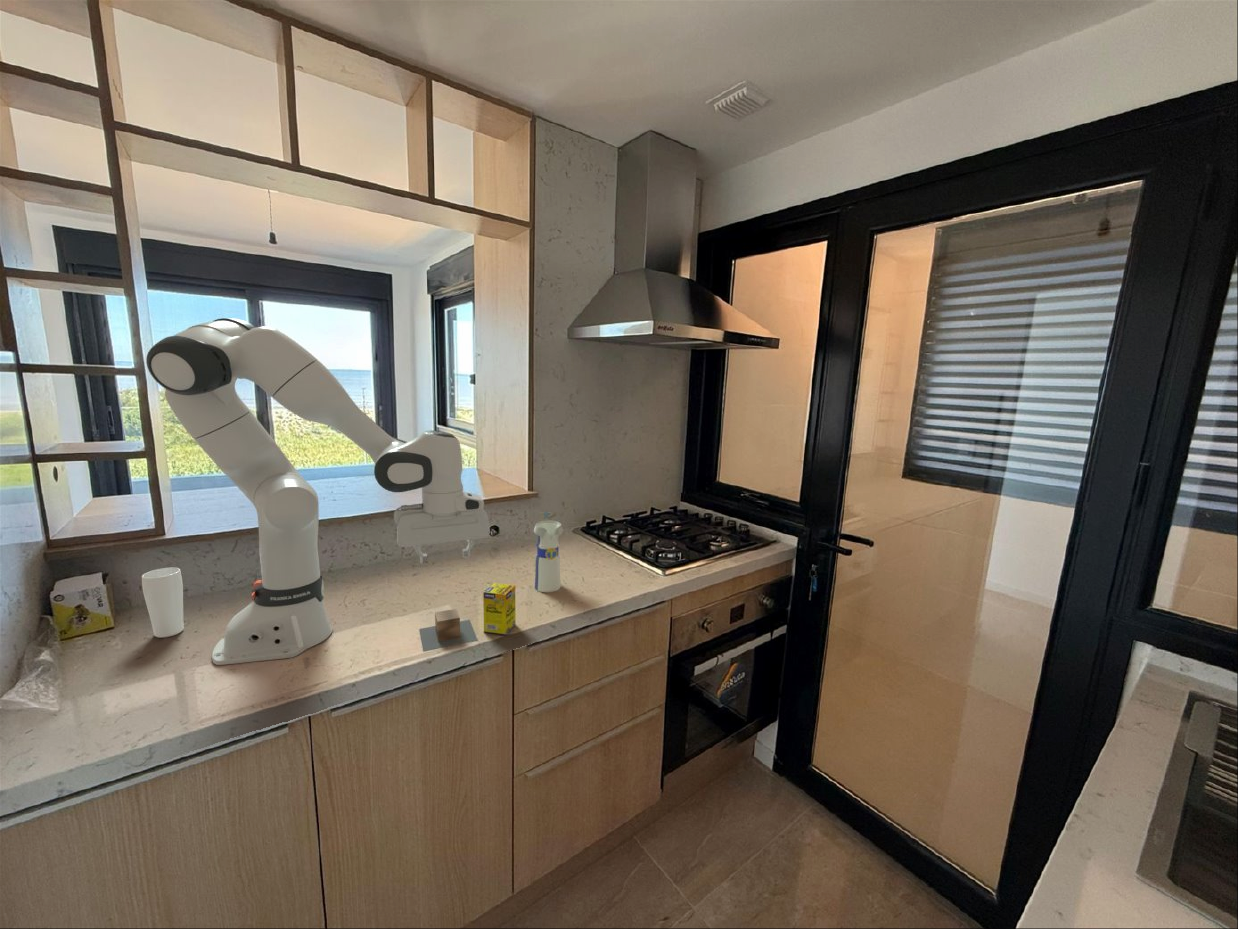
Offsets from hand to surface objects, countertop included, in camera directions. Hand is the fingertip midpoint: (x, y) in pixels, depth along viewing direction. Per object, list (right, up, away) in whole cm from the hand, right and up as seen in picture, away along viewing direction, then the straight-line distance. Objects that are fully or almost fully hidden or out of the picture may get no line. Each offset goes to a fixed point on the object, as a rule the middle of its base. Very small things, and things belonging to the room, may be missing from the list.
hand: (445, 559), depth 116 cm
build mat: (-1, -19, +3) cm, 19 cm away
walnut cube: (-1, -19, +3) cm, 19 cm away
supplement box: (+11, -19, +7) cm, 23 cm away
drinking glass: (-65, -18, +1) cm, 68 cm away
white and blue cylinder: (+19, -15, +33) cm, 41 cm away
